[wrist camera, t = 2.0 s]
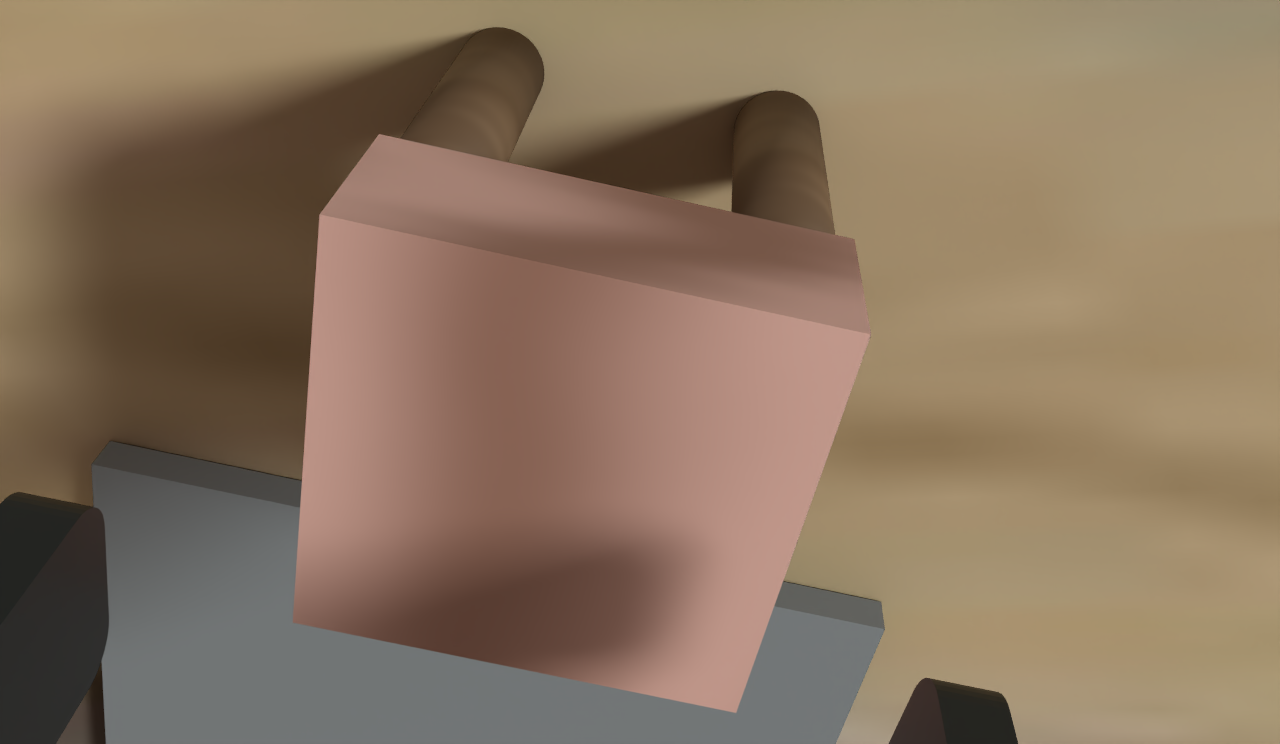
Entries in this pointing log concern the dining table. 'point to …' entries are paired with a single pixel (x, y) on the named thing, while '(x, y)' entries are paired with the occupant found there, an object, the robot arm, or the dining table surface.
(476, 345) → the stool
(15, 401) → the dining table surface
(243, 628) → the mat
